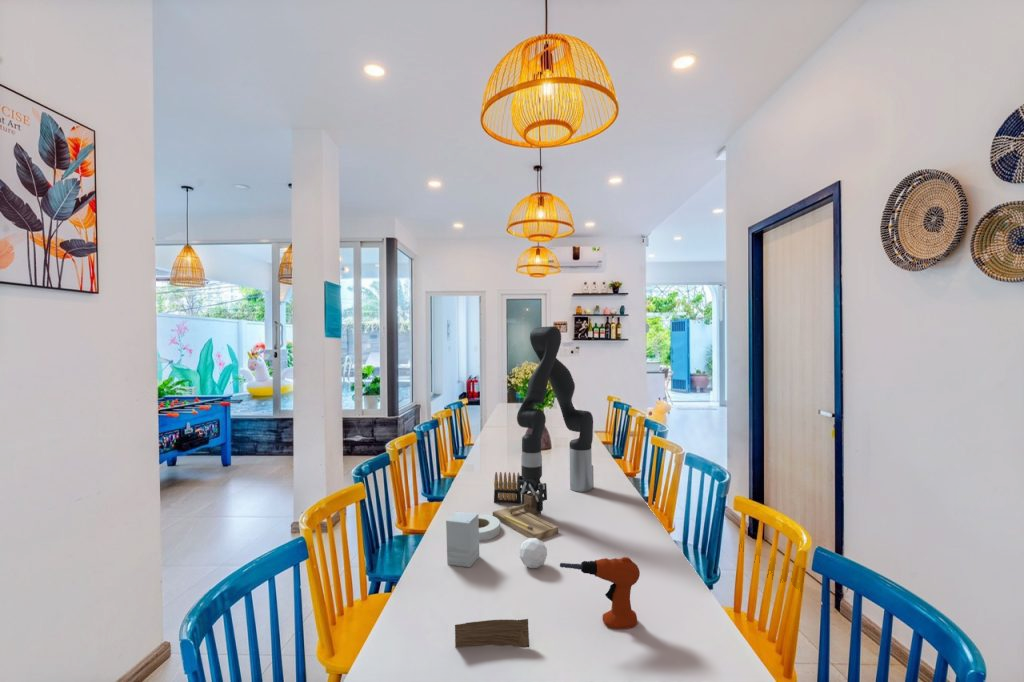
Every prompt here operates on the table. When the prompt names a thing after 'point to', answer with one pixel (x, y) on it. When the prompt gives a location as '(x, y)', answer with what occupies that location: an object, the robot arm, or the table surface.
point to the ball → (533, 553)
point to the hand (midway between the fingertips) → (532, 507)
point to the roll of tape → (488, 526)
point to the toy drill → (614, 587)
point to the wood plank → (493, 633)
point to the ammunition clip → (502, 492)
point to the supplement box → (462, 539)
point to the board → (538, 524)
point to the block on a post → (527, 505)
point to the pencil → (518, 522)
